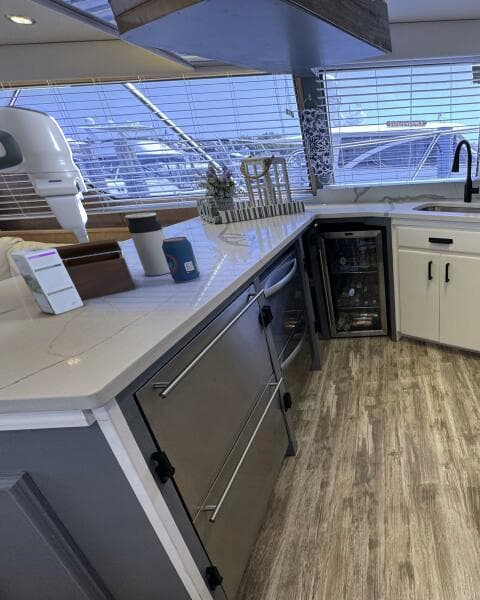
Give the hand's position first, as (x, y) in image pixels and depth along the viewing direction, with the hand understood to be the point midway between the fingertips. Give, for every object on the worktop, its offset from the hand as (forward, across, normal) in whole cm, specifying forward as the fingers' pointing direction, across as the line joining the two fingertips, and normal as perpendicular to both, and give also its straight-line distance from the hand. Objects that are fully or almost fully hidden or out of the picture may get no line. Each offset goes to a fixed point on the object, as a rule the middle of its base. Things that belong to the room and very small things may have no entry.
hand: (85, 243), depth 82 cm
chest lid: (+2, -2, 0) cm, 3 cm away
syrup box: (+14, +7, -8) cm, 17 cm away
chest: (+13, -3, 0) cm, 14 cm away
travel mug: (+14, -10, +13) cm, 22 cm away
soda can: (+14, +5, +18) cm, 23 cm away
